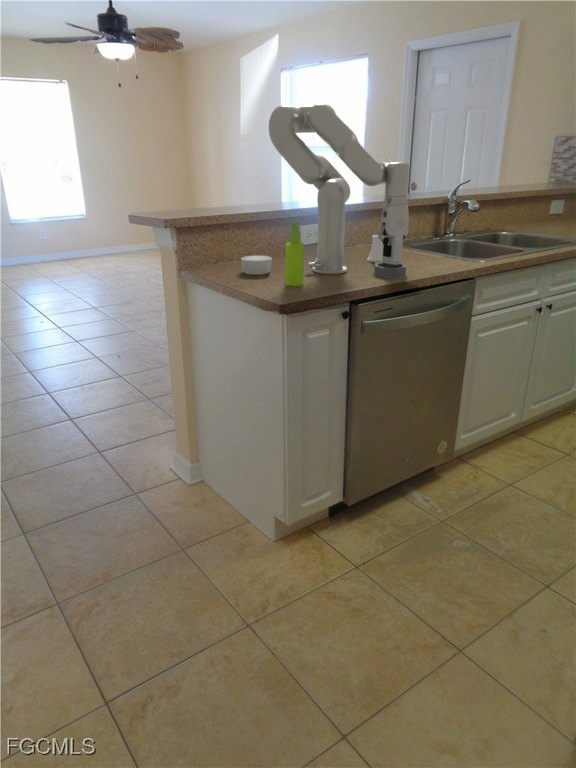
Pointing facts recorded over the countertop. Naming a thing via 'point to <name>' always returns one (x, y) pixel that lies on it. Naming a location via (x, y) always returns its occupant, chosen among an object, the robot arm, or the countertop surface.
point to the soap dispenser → (294, 258)
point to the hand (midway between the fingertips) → (391, 255)
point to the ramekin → (256, 264)
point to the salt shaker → (376, 250)
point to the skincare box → (395, 249)
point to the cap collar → (389, 270)
